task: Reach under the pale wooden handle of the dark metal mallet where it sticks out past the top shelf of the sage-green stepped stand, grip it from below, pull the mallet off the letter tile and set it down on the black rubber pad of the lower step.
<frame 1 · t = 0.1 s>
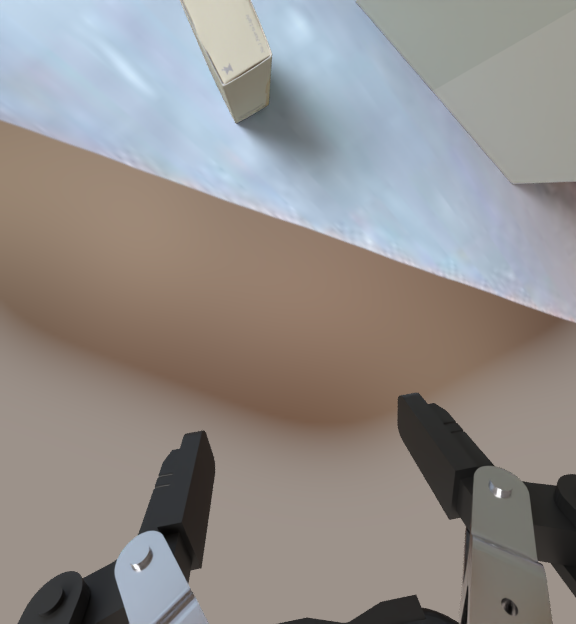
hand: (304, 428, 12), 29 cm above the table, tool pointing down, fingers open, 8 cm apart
skincare box: (237, 84, 32), on the table
stepped stand: (478, 73, 33), on the table
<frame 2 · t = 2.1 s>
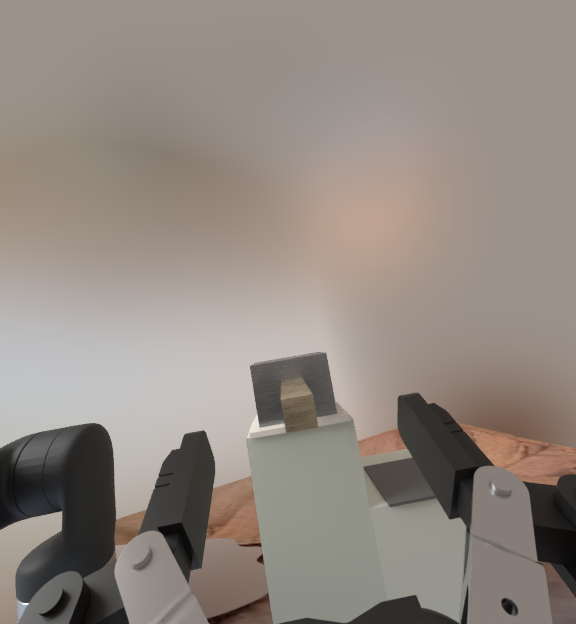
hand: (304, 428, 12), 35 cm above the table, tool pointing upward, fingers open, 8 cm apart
mallet: (297, 413, 37), point 30 cm above the table, touching stepped stand
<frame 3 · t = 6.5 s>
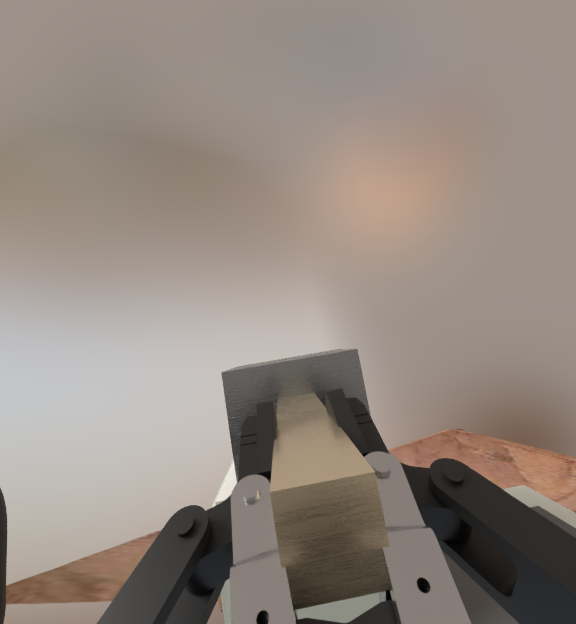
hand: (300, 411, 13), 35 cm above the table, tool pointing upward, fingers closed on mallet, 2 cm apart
mallet: (304, 453, 22), point 30 cm above the table, touching gripper, stepped stand
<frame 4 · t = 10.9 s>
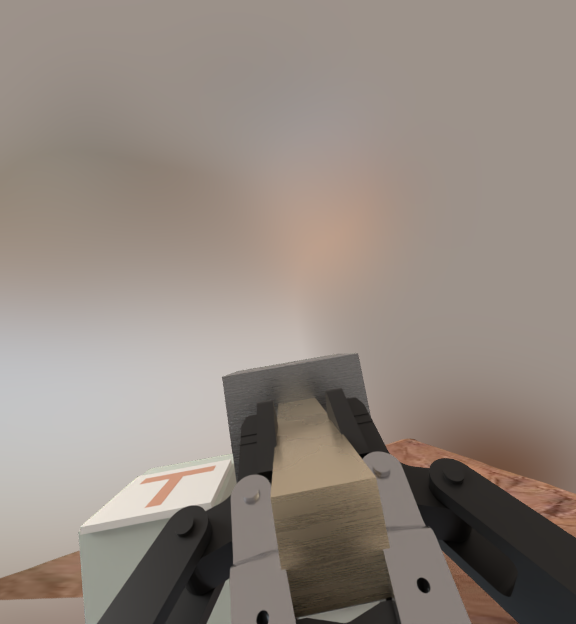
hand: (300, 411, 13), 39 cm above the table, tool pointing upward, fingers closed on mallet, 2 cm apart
mallet: (305, 458, 22), point 34 cm above the table, touching gripper
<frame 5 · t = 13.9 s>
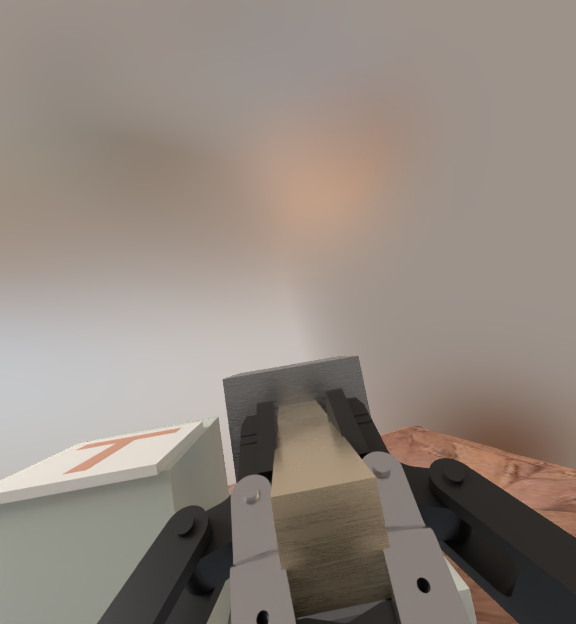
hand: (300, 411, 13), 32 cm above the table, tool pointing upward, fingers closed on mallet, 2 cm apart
mallet: (305, 461, 22), point 27 cm above the table, touching gripper
when the fingers open (26 cm above the table, at t = 15.6 s): mallet stays where it is, resting on stepped stand.
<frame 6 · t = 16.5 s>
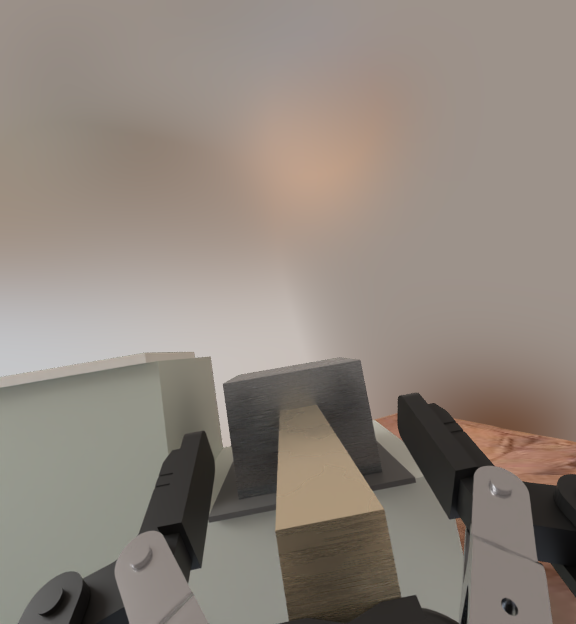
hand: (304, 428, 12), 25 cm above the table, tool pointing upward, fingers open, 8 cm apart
mallet: (306, 464, 22), point 20 cm above the table, touching stepped stand
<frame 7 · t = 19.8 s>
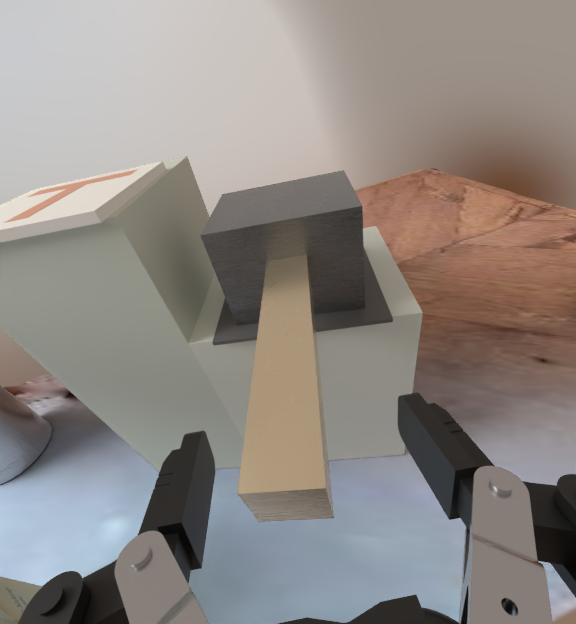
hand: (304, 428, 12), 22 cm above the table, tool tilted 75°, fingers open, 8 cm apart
mallet: (298, 288, 23), point 20 cm above the table, touching stepped stand
stepped stand: (285, 426, 37), on the table
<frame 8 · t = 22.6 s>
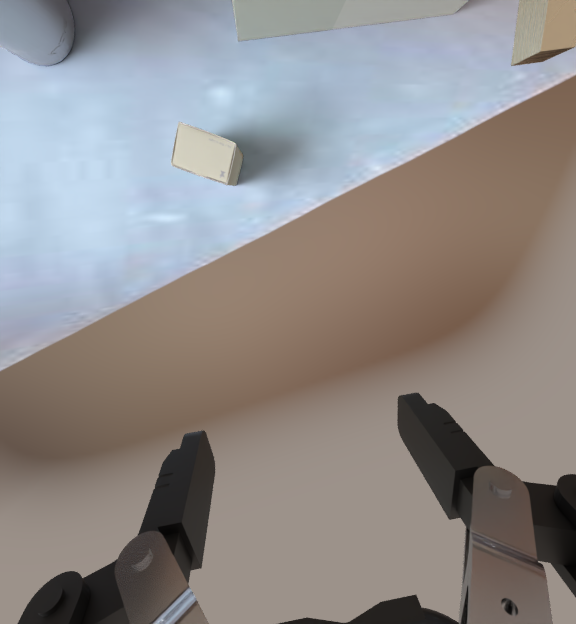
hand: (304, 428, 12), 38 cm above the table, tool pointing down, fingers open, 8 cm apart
skincare box: (218, 164, 42), on the table
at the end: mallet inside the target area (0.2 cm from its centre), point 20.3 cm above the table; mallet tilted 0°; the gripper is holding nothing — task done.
